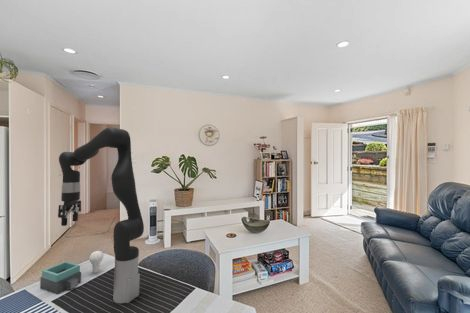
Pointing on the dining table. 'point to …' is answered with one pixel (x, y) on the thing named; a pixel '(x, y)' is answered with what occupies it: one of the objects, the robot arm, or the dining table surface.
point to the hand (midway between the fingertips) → (69, 223)
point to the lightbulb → (96, 260)
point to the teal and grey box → (60, 277)
